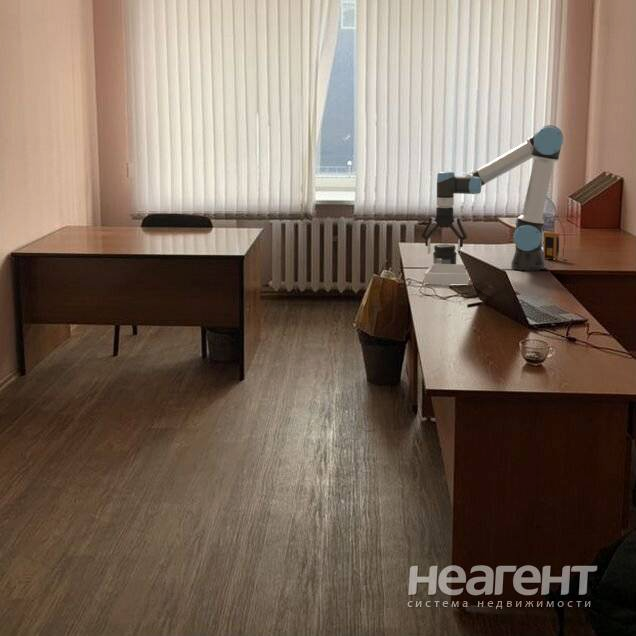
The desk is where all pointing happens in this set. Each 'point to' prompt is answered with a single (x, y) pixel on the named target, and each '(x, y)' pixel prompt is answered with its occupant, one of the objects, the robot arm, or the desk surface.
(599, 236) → the desk surface
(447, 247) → the supplement container
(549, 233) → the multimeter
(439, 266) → the block
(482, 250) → the desk surface
